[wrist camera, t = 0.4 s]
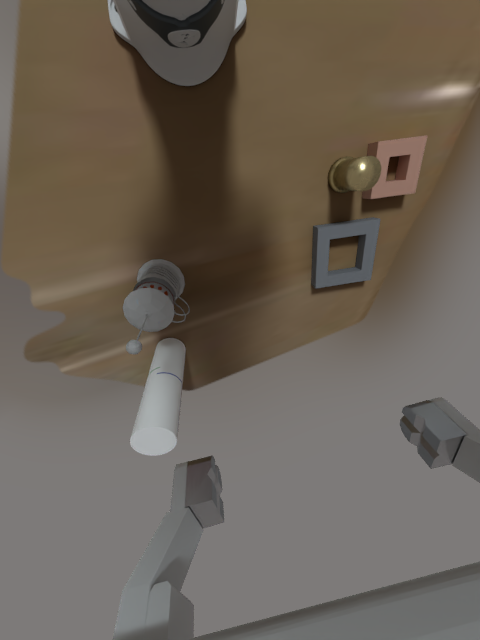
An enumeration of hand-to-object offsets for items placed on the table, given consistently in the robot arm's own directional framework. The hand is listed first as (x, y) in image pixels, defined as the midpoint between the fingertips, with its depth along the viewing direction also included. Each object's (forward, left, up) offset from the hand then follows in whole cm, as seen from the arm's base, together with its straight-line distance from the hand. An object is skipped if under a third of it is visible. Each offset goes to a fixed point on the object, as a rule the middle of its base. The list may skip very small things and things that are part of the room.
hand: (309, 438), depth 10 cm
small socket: (-8, +33, -45) cm, 57 cm away
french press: (+8, -14, -46) cm, 48 cm away
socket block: (+7, +25, -45) cm, 52 cm away
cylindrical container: (+25, -17, -46) cm, 55 cm away
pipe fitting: (-8, +24, -46) cm, 52 cm away
